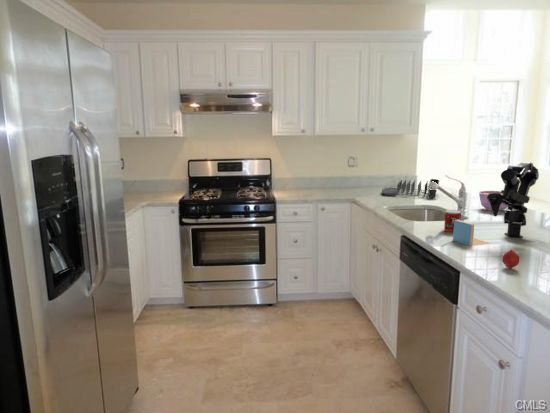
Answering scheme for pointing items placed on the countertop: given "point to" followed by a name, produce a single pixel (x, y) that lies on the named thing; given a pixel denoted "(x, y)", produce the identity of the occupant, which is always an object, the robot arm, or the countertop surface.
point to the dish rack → (402, 186)
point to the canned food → (451, 219)
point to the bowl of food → (485, 201)
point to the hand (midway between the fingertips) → (502, 220)
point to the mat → (478, 242)
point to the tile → (463, 232)
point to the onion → (510, 259)
